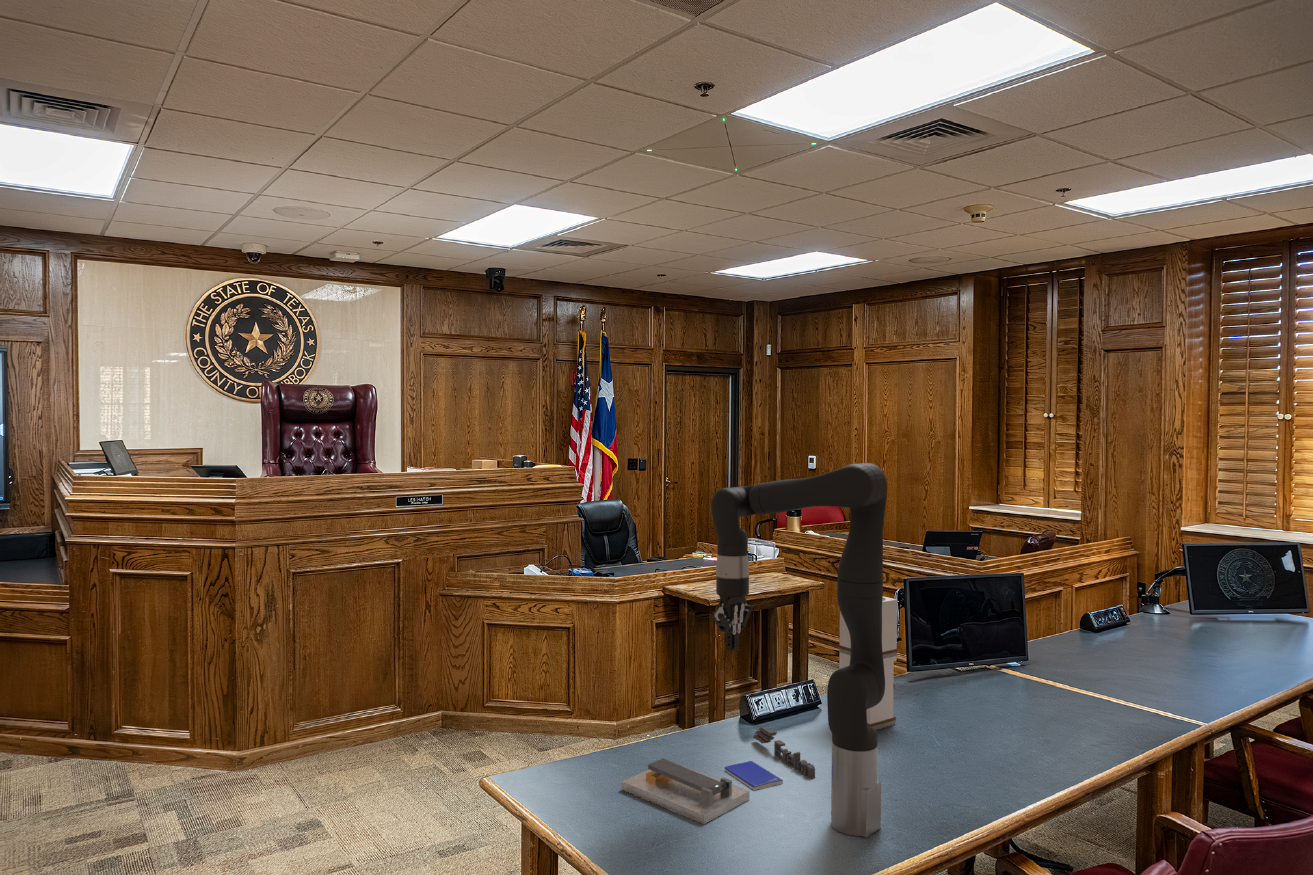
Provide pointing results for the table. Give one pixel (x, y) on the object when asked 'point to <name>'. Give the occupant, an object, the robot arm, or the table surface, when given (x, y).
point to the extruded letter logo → (785, 753)
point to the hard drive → (753, 775)
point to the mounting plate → (685, 795)
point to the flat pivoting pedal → (686, 776)
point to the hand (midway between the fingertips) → (732, 649)
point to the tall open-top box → (884, 709)
